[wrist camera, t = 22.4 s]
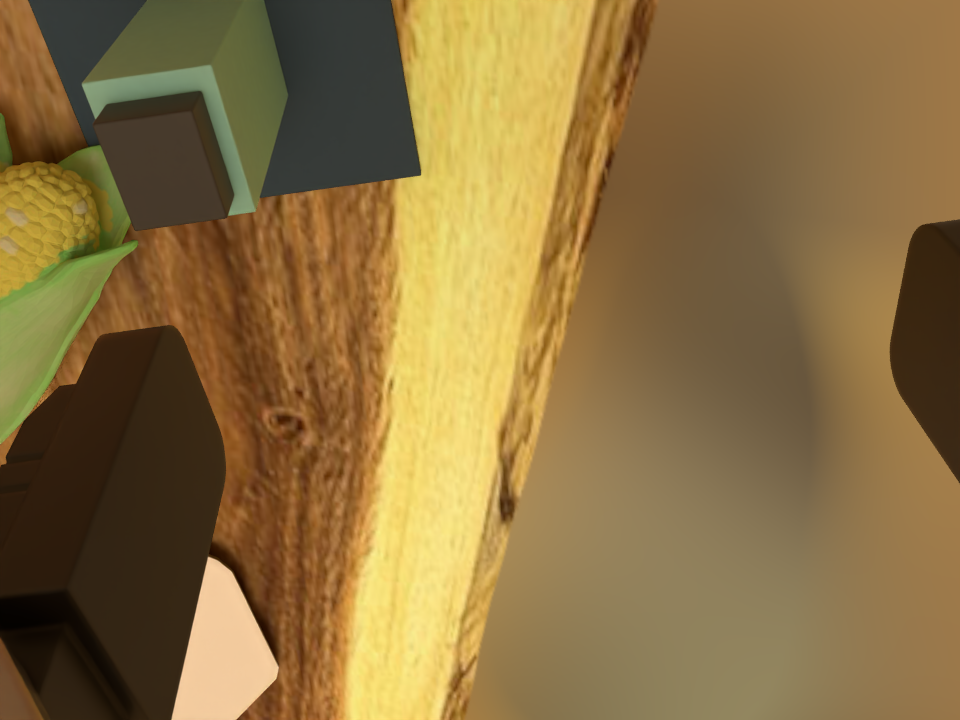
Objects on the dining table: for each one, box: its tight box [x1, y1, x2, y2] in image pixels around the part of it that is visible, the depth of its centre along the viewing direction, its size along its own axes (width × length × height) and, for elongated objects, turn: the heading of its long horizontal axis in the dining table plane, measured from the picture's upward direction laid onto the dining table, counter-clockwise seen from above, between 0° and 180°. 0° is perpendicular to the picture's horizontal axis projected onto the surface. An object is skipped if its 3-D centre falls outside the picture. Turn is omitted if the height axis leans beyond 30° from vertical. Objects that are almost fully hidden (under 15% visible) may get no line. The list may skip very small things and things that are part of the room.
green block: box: [82, 0, 288, 231], centre depth 32 cm, size 12×4×5 cm
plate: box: [171, 554, 279, 720], centre depth 59 cm, size 28×28×2 cm
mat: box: [28, 0, 421, 198], centre depth 37 cm, size 14×14×1 cm
